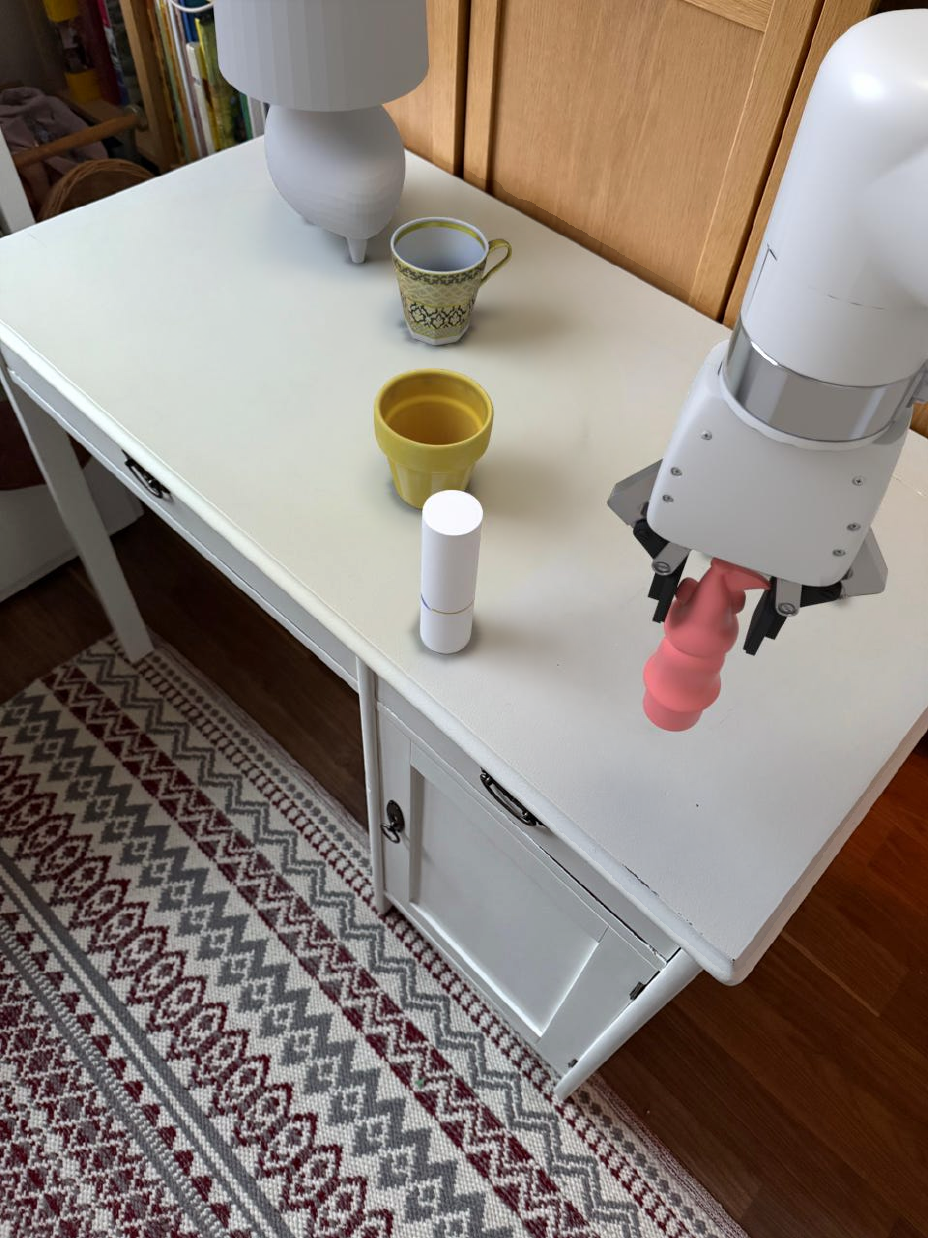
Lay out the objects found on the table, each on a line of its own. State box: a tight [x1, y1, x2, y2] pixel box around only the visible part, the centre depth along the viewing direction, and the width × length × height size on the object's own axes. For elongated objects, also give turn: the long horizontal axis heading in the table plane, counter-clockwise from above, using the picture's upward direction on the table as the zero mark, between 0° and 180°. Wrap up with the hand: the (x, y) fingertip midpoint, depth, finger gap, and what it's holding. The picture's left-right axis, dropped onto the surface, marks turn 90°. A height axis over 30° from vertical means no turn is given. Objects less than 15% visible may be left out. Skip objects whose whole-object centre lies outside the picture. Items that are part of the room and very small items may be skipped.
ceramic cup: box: [389, 216, 513, 347], centre depth 96 cm, size 13×10×10 cm
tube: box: [419, 490, 484, 654], centre depth 70 cm, size 4×4×15 cm
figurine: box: [642, 557, 771, 733], centre depth 54 cm, size 5×5×15 cm
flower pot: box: [373, 367, 495, 510], centre depth 82 cm, size 10×10×10 cm
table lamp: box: [212, 0, 430, 264], centre depth 93 cm, size 23×22×40 cm
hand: (708, 618), depth 53 cm, fingers closed on figurine, 4 cm apart
